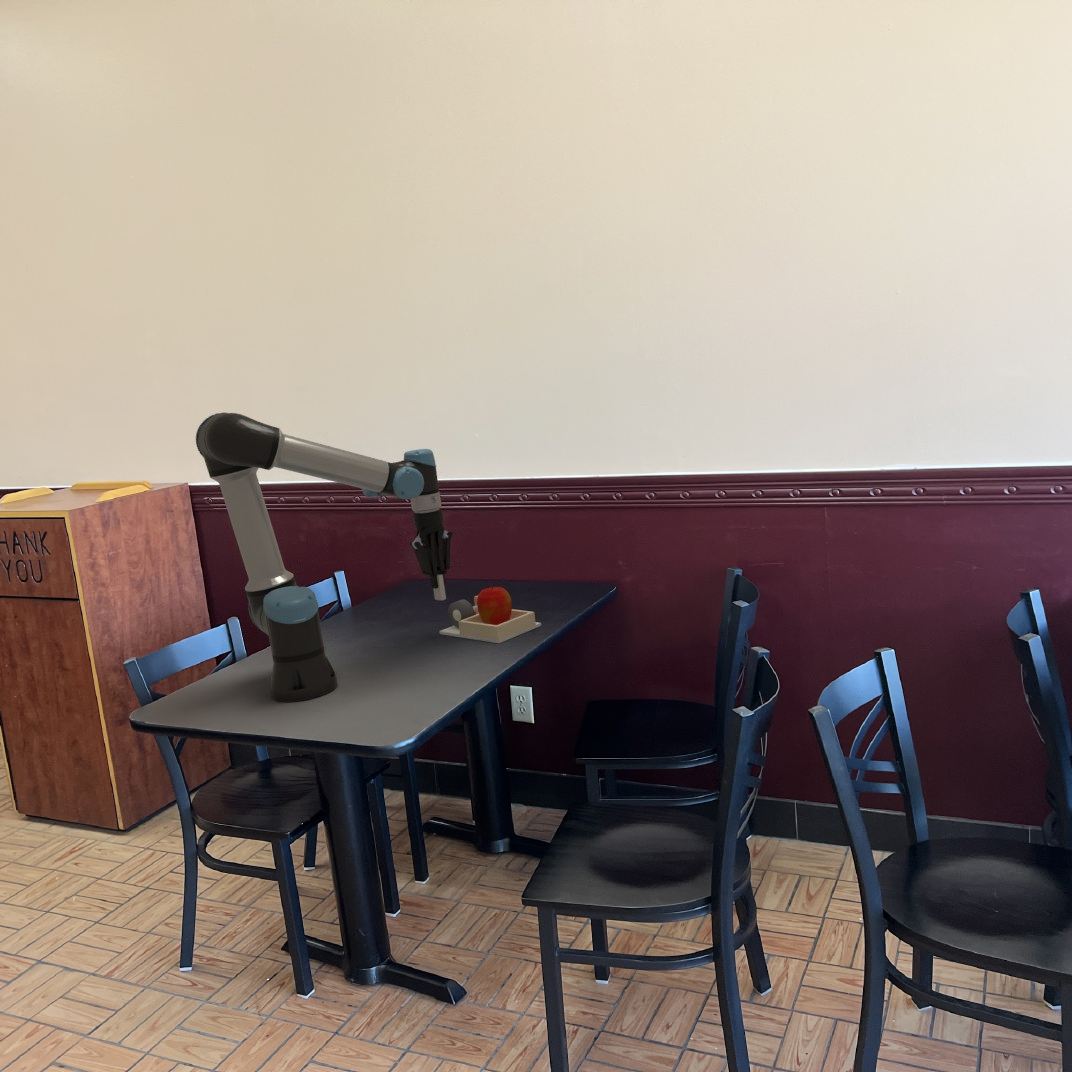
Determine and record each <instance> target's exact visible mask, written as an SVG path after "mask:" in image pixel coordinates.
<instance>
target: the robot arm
mask: <svg viewBox="0 0 1072 1072" xmlns="http://www.w3.org/2000/svg"><path fill="white" fill-rule="evenodd" d="M195 445H196V447H197V451H198V452H199V454H200V455H201V456H202V458H203V459H204V463H205V467H206V469H207V473H208V475H209V478H210V479H212V480H213V481H216V482H217V483H218V484H219V487H220V490H221V491H220V492H221V494H222V497H223V501H224V503H225V507H226V510H227V512H228V516H229V519H230V522H231V523H230V524H231V527H232V529H233V532H234V536H235V539H236V541H237V543H236V544H237V545H238V548H239V552H240V555H241V558H242V562H243V564H244V568H245V571H246V573H247V577H248V581H247V583H246V585H245V587H244V591H245V594H246V598H247V599H248V600H247V601H248V613H249V617H250V619H251V621H252V623H253V624H254V625H255V627H256V628H257V629H259V630H260V631H261V632H263V633H265V634H266V635H267V636H268V638H269V644H270V652H271V656H272V664H273V665H272V669H271V670H272V671H271V676H270V682H269V692H270V698H271V699H272V700H274V701H277V702H284V703H285V702H288V703H289V702H299V701H300V702H301V701H306V700H311V699H314V698H318V697H321V696H323V695H326V694H329V693H330V692H332V691H334V690H335V689H337V687H338V684H339V683H338V678H337V674H336V671H335V670H334V668H333V666H332V664H331V662H330V660H329V658H328V656H327V654H326V652H325V644H324V639H323V633H322V625H321V619H320V613H319V611H320V610H319V602H318V600H317V597H316V593H315V591H313V590H312V589H311V588H309V587H307V586H299V585H297V582H296V579H295V576H294V573H292V572H290V571H289V570H287V569H286V568H285V565H284V562H283V558H282V555H281V551H280V548H279V545H278V542H277V538H276V535H275V531H274V527H273V525H272V522H271V518H270V515H269V512H268V508H267V505H266V501H265V498H264V495H263V492H262V488H261V485H260V481H259V478H258V476H257V472H258V470H259V469H263V470H267V471H270V470H273V468H277V469H282V470H286V471H289V472H294V473H298V474H302V475H306V476H310V477H315V478H318V479H322V480H326V481H330V482H335V483H339V484H342V485H347V486H350V487H355V488H359V489H361V492H362V493H363V495H364V496H365V497H367V498H375V497H376V498H379V497H380V496H389V497H393V498H399V499H402V500H410V506H411V510H412V511H413V513H412V517H413V524H414V527H415V528H416V534H415V536H416V538H414V541H410V542H409V545H410V547H411V548H412V549H413V551H414V554H415V556H416V559H417V562H418V564H419V569H420V570H421V573H422V575H423V576H428V577H429V580H430V587H431V589H433V596H434V600H436V601H444V600H446V599H447V595H446V589H445V586H446V577H445V575H446V574H447V573H448V571H447V570H450V568H451V566H450V565H451V540H452V536H453V532H452V531H448V530H446V529H445V527H444V525H443V524H444V522H445V521H444V514H443V510H442V509H441V507H442V501H441V500H442V499H441V495H440V493H441V492H440V488H439V482H438V481H439V480H438V479H439V478H438V474H437V463H436V459H435V456H434V452H433V451H432V449H430V448H419V449H412V450H407V451H405V452H404V453H403V460H400V461H399V460H398V461H397V462H389V461H386V460H383V459H378V458H375V457H371V456H367V455H363V454H360V453H357V452H351V451H349V450H344V449H341V448H337V447H333V446H330V445H326V444H322V443H319V442H314V441H310V440H308V439H304V438H300V437H295V436H293V435H288V434H285V433H283V432H282V430H281V428H279V427H277V426H272V425H269V424H267V423H264V422H261V421H258V420H256V419H253V418H251V417H249V416H247V415H245V414H241V413H236V412H220V413H219V412H218V413H217V412H216V413H214V414H212V415H209V416H208V417H206V418H205V419H204V420H203V421H202V422H201V423H200V424H199V426H198V428H197V430H196V434H195Z"/></svg>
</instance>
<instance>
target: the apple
mask: <svg viewBox="0 0 1072 1072" xmlns="http://www.w3.org/2000/svg"><path fill="white" fill-rule="evenodd" d="M512 605H513V604H512V598H511V595H510V594H509V592H508V591H507V590H506V588H504V587H502V586H493V585H492V584H491V586H490V587H487V588H484V589H481V591H480V592H479V593H478V598H477V607H478V611H479V615H480V617H481V619H482V622H483V623H484V624H491V625H499V624H501V623H504V622H507V621H509V620H510V616H511V612H512V609H513V607H512Z"/></svg>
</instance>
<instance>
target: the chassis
mask: <svg viewBox="0 0 1072 1072" xmlns="http://www.w3.org/2000/svg"><path fill="white" fill-rule="evenodd" d="M478 595H479V594H478ZM478 595H475V596H474V597H473V599H474V600H473V603H474V606H476V605H477V598H478ZM535 615H536V613H535V611H530V610H529V611H528V610H521V609H513V608H512V612H511V616H510V620H509V621H507V622H504V623H501V624H499V625H491V624H484V623H483V622H482V619H481V617H480V615H479V611H478V610H477V611H475V615H474V616H471V617H469V618H466V619H463V620H461V621H458V623H459V628H457V627H455V626H454V625H452V626H449V627H446V628H444V629H440V630H439V632H438V633H439V635H443V636H450V637H457V638H463V639H469V640H476V641H482V642H488V643H494V644H495V643H496V644H500V643H504V642H506V641H508V640H511V639H513V638H515V637H517V636H520V635H522V634H525V633H528V632H529V631H532V630H534V629H537V628H539V627H541V626H542V623H541V622H536V616H535Z"/></svg>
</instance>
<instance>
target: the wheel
mask: <svg viewBox="0 0 1072 1072" xmlns="http://www.w3.org/2000/svg"><path fill="white" fill-rule="evenodd" d="M477 610H478V607H477V605H476V606H475V605H472V604H471V603H470V602H469V600H467V599H464V598H463V599H460V600H456V601H454V602H452V603H450V604H449V606H448V611H447V612H448V618H449V621H450V622H451V624H452V626H455V627H457V628H459V623H458V621H461V620H463V619H466V618H469V617H471V616H474V615H476V611H477Z"/></svg>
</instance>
